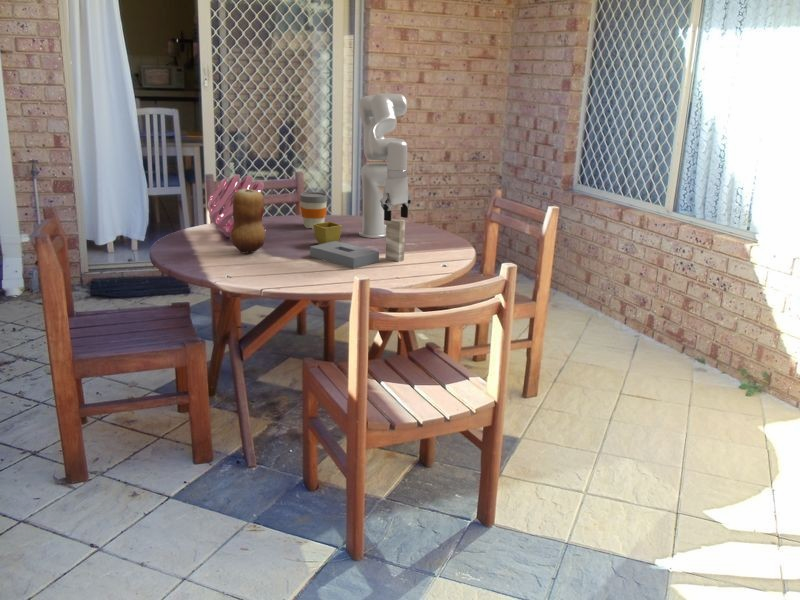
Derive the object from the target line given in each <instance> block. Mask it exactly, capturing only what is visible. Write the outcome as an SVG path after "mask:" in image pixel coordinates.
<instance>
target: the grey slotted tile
mask: <svg viewBox="0 0 800 600" xmlns="http://www.w3.org/2000/svg"><path fill="white" fill-rule="evenodd" d="M309 256H310V257H311V258H315V259H318V260H322V261H325V262H328V263H333V264H336V265H339V266H343V267H347V268H350V269H357V268H362V267H365V266H368V265H372V264H376V263H378V262H380V251H378V250H373V249H370V248H366V247H362V246H357V245H354V244H350V243H346V242H341V241H333V242H328V243H324V244H319V243H318V244H316V245H311V246H309Z"/></svg>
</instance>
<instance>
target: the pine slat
mask: <svg viewBox="0 0 800 600" xmlns="http://www.w3.org/2000/svg"><path fill="white" fill-rule="evenodd" d="M385 221H386V220H385ZM385 225H386V230H385V231H386V236H385V259H386V258H387V259H386V260H390V259H391V260H390V261H393V260H395V261H394V262H397V261H400V262H403V260H404V261H405V238H406V237H405V236H406V235H405V234H406V233H405V231H406V220H405V219H400V218H395V217H391V221H386V223H385Z"/></svg>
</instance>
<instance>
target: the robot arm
mask: <svg viewBox="0 0 800 600" xmlns="http://www.w3.org/2000/svg"><path fill="white" fill-rule="evenodd" d="M407 110H408V101H407V98H406V97H405V95H403V93H378V94H375V95H365V96H362V97H360V99H359V101H358V112H359V117H360V119H361V122H362V126H363V152H364V157H365V159H367V160H370V161H386V162H385V163H384V162H383V163H379V162H377V163H372V162H371V163H367V164H364V165H363V166H362V167H361V170H360V176H361V177H360V178H361V183H362V184H361V185H362V230H360V231H359V232H358V235H359V236H361V237H363V238H370V239H379V238H380V239H381V238H384V237H385V238H386V223H385V221H391V218H392V207H393V206H399V205H401V206H400V217H401V218H406V219H407V218H409V208H410V204H411V201H412V197H413V195H412V194H411V193H409V183H408V182H409V181H408V176H407V175H408V174H407V173H408V167H407V166H408V143H407V142H406V141H405V140H404V139H401V138H396V137H385V136H384V135H387V134H388V133H391V132H392V131H394V130H395V128H396V127H397V124H398V118H397V117H401V116H405V114H406V113H407ZM380 186H383V190H382V189H381V188H380Z"/></svg>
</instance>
